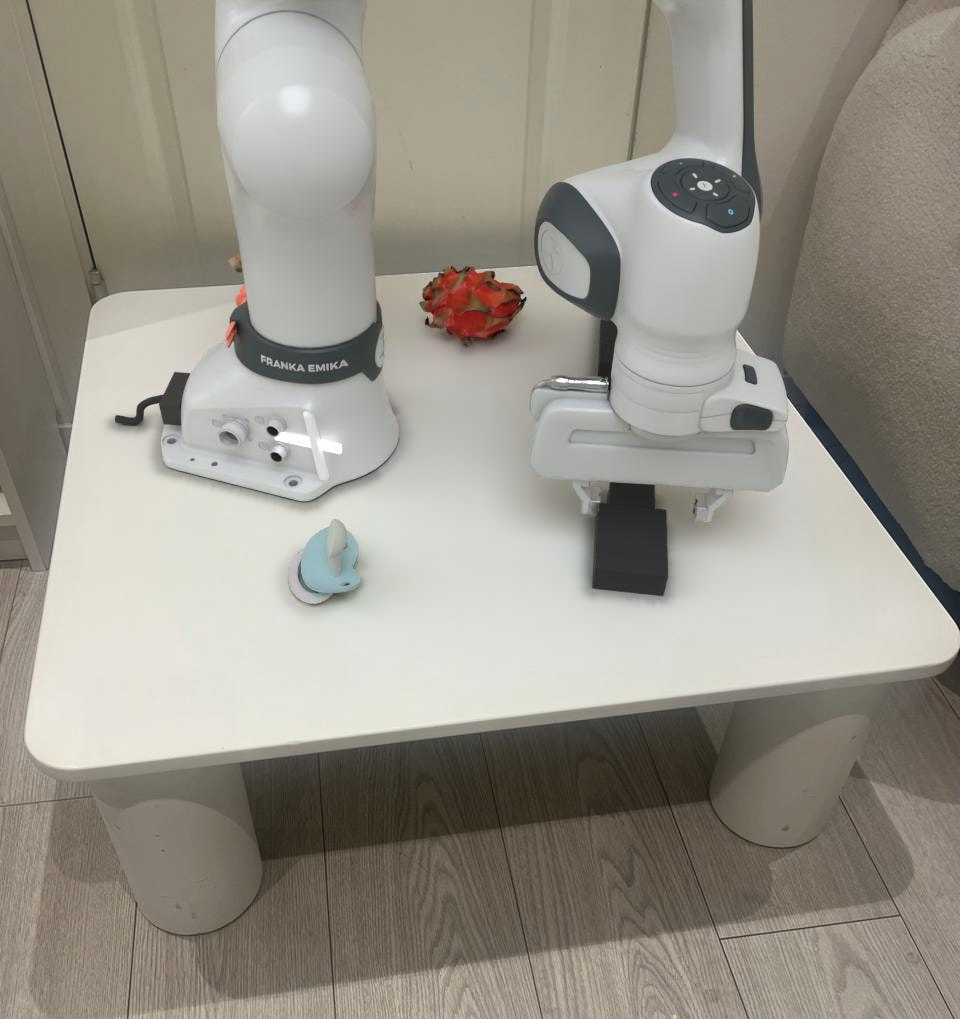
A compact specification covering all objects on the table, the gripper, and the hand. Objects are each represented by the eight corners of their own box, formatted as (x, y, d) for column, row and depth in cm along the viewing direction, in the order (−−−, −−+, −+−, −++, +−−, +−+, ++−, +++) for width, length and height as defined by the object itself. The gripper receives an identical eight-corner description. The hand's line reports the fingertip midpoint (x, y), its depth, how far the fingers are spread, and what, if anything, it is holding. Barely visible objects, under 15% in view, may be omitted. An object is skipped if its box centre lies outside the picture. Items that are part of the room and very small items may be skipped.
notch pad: (693, 390, 106) (697, 371, 104) (597, 381, 106) (599, 362, 104) (689, 325, 114) (693, 307, 112) (600, 317, 115) (603, 298, 113)
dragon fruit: (410, 344, 112) (513, 348, 115) (425, 342, 104) (536, 346, 107) (412, 266, 111) (516, 272, 114) (428, 257, 103) (540, 264, 106)
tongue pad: (663, 596, 85) (668, 576, 83) (592, 588, 85) (595, 568, 84) (661, 501, 93) (665, 481, 92) (596, 495, 94) (599, 475, 92)
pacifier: (289, 615, 82) (363, 606, 83) (278, 563, 78) (356, 555, 79) (288, 550, 88) (358, 542, 88) (278, 498, 83) (351, 490, 84)
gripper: (529, 400, 74) (521, 531, 84) (810, 416, 74) (769, 547, 83) (532, 350, 79) (524, 480, 89) (797, 364, 78) (760, 494, 88)
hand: (645, 512), depth 86 cm, fingers open, 8 cm apart
